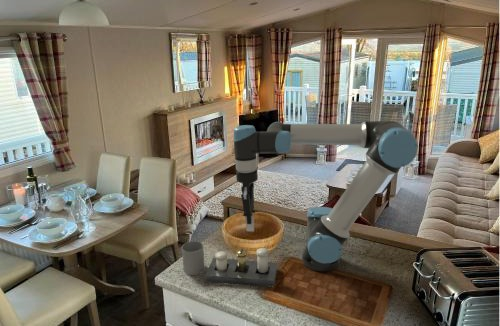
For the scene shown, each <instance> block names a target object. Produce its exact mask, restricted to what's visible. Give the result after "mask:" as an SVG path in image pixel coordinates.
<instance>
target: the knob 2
mask: <svg viewBox="0 0 500 326" xmlns="http://www.w3.org/2000/svg"><path fill="white" fill-rule="evenodd" d="M255 253H256V256H257V260H256V261H257V268H258V272H260V273H259V274H266V273H265V272H267V271H268V262H269V253H270V251H269V249H268V248H265V247H260V248H258V249H257V250H256V252H255Z"/></svg>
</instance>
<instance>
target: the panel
mask: <svg viewBox="0 0 500 326" xmlns="http://www.w3.org/2000/svg"><path fill="white" fill-rule="evenodd" d="M277 273H278V262H273V261H268V271H267V272H265V273H260V272H258V268H257V260H250V259H249V260H247V259H246V270H243V271H241V270H238V259H232V258H231V259H230V258H227V271H217V264H216V258H215V257H213V258H212V259H211V261H210V264H209V266H208V269H207V270H206V273H205V275H204V277H205V278H204V279H205V283H214V284H224V285H238V286H249V287H263V288H271V287H272V286H273V287H274V285H275V286H276V280H277ZM275 279H276V280H275ZM269 286H271V287H269ZM274 288H275V287H274Z"/></svg>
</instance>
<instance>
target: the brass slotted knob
mask: <svg viewBox="0 0 500 326" xmlns="http://www.w3.org/2000/svg"><path fill="white" fill-rule="evenodd" d="M235 252H236V254H235V255H236V257H237V260H238V270H241V271H243V270H246V260H247V255H248V250H247V249H245V248H239V249H237V250H236V251H235Z"/></svg>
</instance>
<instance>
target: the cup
mask: <svg viewBox="0 0 500 326" xmlns="http://www.w3.org/2000/svg"><path fill="white" fill-rule="evenodd" d="M204 252H205V251H204V244H203V243H202V242H201V241H197V240H196V241H195V240H194V241H193V240H192V241H187V242H185V243H183V245H182V246H181V254H182V255H181V257H182V267H183V273H185V275H190V276H191V275H192V276H194V275H199V274H201V273H203V272H204V270H205V268H206V267H205V256H204V255H205V253H204Z"/></svg>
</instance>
